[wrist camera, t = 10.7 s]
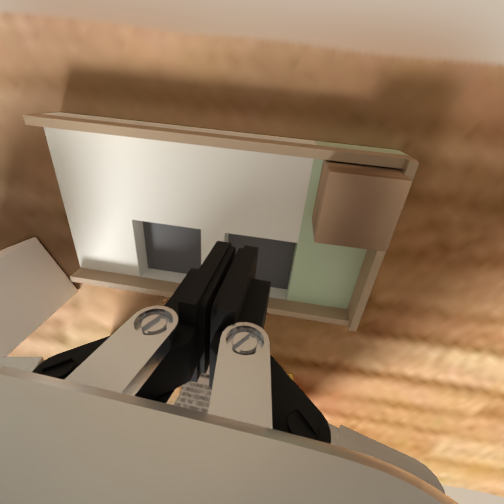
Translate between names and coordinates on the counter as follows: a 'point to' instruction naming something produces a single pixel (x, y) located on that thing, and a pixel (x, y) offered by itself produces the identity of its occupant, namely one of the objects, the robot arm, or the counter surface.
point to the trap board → (207, 209)
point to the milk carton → (28, 291)
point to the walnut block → (358, 205)
